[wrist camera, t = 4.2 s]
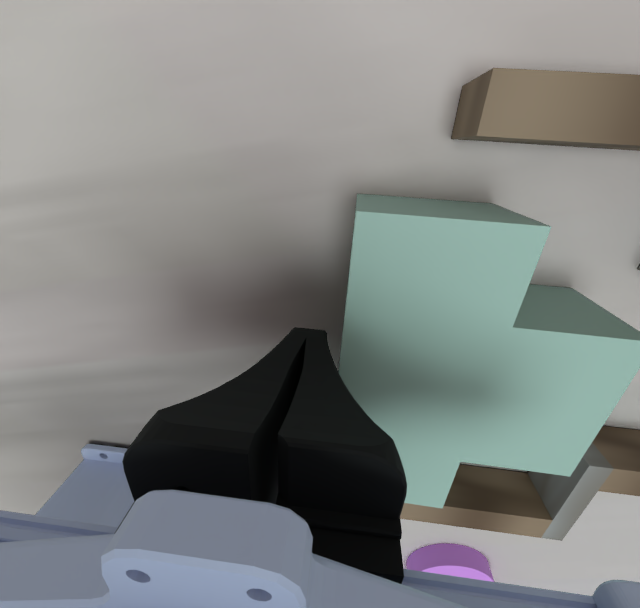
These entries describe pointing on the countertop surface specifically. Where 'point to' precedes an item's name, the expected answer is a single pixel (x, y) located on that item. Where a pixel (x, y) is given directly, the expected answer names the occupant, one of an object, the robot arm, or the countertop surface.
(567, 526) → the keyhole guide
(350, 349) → the t slider
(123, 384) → the countertop surface
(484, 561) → the bracket
